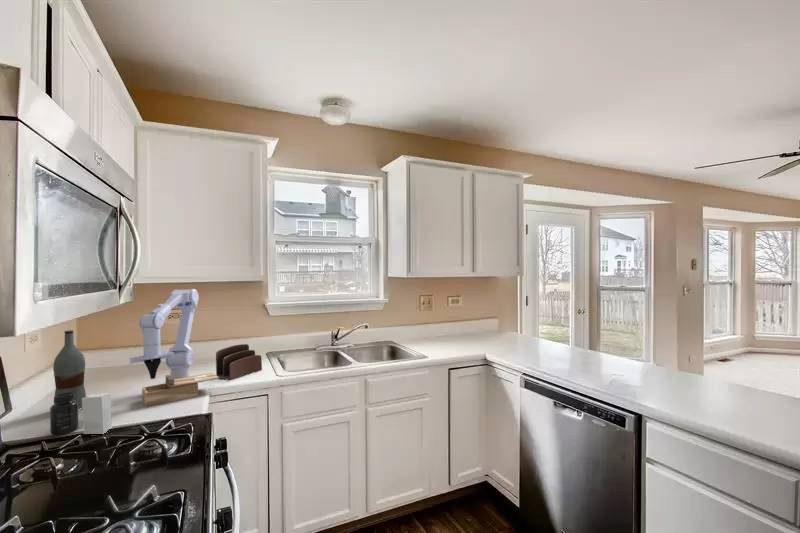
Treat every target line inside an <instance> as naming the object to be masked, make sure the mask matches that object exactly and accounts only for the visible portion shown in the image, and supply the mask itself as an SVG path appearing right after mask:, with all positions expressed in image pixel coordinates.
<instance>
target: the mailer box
mask: <svg viewBox="0 0 800 533" xmlns="http://www.w3.org/2000/svg"><path fill="white" fill-rule="evenodd" d="M141 392H142V393H141V394H142V397H141V398H142V402H143V404H144V406H145V407H151V406H156V405H160V404H165V403H169V402H174V401H179V400H180V401H181V400H184V399H188V398H193V397H198V396H199V383H193V384H188V385H183V386H178V387H173V388H170V387H169V386H168V385H167V384H166V383H160V384H154V385H149V386H144V387H141Z"/></svg>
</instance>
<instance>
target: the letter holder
mask: <svg viewBox="0 0 800 533" xmlns="http://www.w3.org/2000/svg"><path fill="white" fill-rule="evenodd" d="M262 364H263V362H262V355H260V354H256V351H255V350H254V349H250V345H249V344H248V343H241V344H234V345H231V346H227V347H224V348H222V349H219V350H217V351H216V353H215V373H216V374H215V375H216V376H218V377H219V378H223V379H222V380H226V379H228V380H227V381H233V380H236V379H238V378H241V377H244V375H245V376H247V374H248V375H251V374H252V373H253V372H254V373H256V372H259V371H262V370H263V365H262ZM250 373H251V374H250ZM254 373H253V374H254Z"/></svg>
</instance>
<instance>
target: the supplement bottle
mask: <svg viewBox="0 0 800 533" xmlns="http://www.w3.org/2000/svg"><path fill="white" fill-rule="evenodd" d="M73 399H74V393H72V392H68V393H62V394H58V395H56V396H55V395H54V396H53V404H52V405H51V406H50V407H49V424H50V426H49V427H50V434H51V435H52V436H62V435H61V434H63V435H66V433H67V434H70V433H73V432H75V431H77V429H79V410H78V403H77V401H75V400H73ZM54 403H55V404H54Z"/></svg>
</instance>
